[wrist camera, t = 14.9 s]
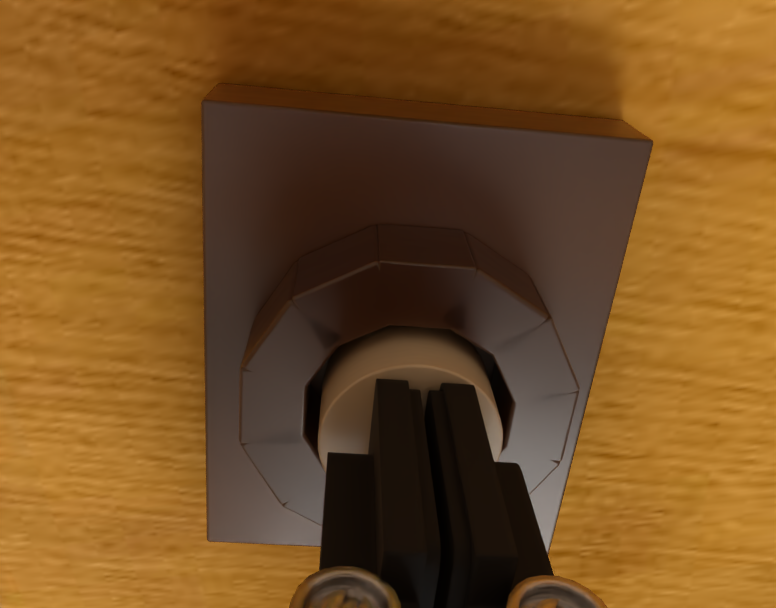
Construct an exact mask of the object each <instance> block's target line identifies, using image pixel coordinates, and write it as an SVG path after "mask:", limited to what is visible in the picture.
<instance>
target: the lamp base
mask: <svg viewBox="0 0 776 608" xmlns="http://www.w3.org/2000/svg"><path fill="white" fill-rule="evenodd" d="M201 131H202V206H203V281H204V356H205V431H206V506H207V540H208V541H210V542H231V543H252V544H273V545H294V546H315V547H321V536H322V521H323V507H324V493H325V480H326V472H325V470H324V469H323V466H322V464H321V461H320V457H319V452H318V429H319V417H320V405H321V394H322V384H323V377H324V374H325V370H326V367H327V365H328V363H329V361H330V359H331V357H332V356H333V354H334V353H335V351H336V350H337V349H338V348H339V347H340V346H341V345H343V344H345V343H348V342H350V341H352V340H355V339H357V338H360V337H362V336H364V335H367V334H369V333H372V332H374V331H376V330H379V329H381V328H383V327H386V326H388V325H395V326H410V327H424V328H438V329H450V330H452V331H454V332H455V333H457V334H458V335H460V336H462V337H463V338H465V339H466V340H468V341H469V342H470V343H471V344H472V345H473V346H474V348H475V349H476V350H477V351H478V353H479V355H480V357H481V358H482V360H483V363H484V365H485V368H486V371H487V374H488V378H489V381H490V385H491V388H492V391H493V395H494V398H495V402H496V405H497V408H498V412H499V415H500V419H501V423H502V428H503V444H502V450H501V454H500V457H499V460H498V462H510V463H517V464H518V465H519V466H520V468H521V470H522V473H523V476H524V480H525V483H526V486H527V489H528V493H529V496H530V499H531V503H532V506H533V509H534V512H535V516H536V519H537V522H538V525H539V529H540V532H541V535H542V539H543V542H544V545H545V548H546V552H547V555H548V554H549V550H550V546H551V542H552V538H553V534H554V530H555V526H556V522H557V518H558V514H559V510H560V507H561V503H562V499H563V495H564V491H565V487H566V483H567V479H568V475H569V471H570V467H571V463H572V460H573V456H574V452H575V448H576V444H577V440H578V436H579V432H580V428H581V424H582V420H583V416H584V413H585V409H586V405H587V401H588V397H589V393H590V389H591V385H592V381H593V377H594V373H595V370H596V366H597V362H598V358H599V354H600V350H601V346H602V342H603V338H604V334H605V330H606V326H607V323H608V319H609V315H610V311H611V307H612V303H613V299H614V295H615V291H616V287H617V283H618V279H619V276H620V272H621V268H622V264H623V260H624V256H625V252H626V248H627V244H628V240H629V236H630V232H631V229H632V225H633V221H634V217H635V213H636V209H637V205H638V201H639V197H640V193H641V189H642V186H643V182H644V178H645V174H646V170H647V166H648V162H649V158H650V154H651V150H652V146H653V141H652V140H651V139H650V138H648V137H647V136H645V135H644V134H642V133H641V132H639V131H638V130H636V129H635V128H633V127H632V126H631V125H629V124H628V123H626V122H625V121H623V120H614V119H603V118H592V117H582V116H571V115H560V114H549V113H538V112H527V111H517V110H506V109H495V108H484V107H473V106H462V105H452V104H441V103H430V102H419V101H408V100H397V99H387V98H376V97H365V96H354V95H343V94H332V93H322V92H311V91H300V90H289V89H278V88H268V87H257V86H246V85H235V84H224V83H220V84H217V85H216V87H215V88H214V89H213V90H212V91H211V92H210V93H209V94H208V95H207V96H206V97H205V98H204V99H203V100H202V102H201Z"/></svg>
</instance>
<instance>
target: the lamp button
mask: <svg viewBox="0 0 776 608" xmlns="http://www.w3.org/2000/svg"><path fill="white" fill-rule="evenodd" d="M377 378H378V379H393V380H408V382H409V389H418V390H420V392H421V399H422V406H423V414H424V417H425V410H426V403H427V396H428V392H429V390H434V391H439V389H440V386H441V383H455V384H470V385H474V387H475V389H476V393H477V397H478V401H479V405H480V409H481V413H482V417H483V420H484V424H485V428H486V432H487V436H488V440H489V444H490V448H491V452H492V455H493V459H494V462H498V460H499V457H500V454H501V450H502V444H503V428H502V423H501V419H500V415H499V412H498V408H497V405H496V402H495V398H494V395H493V391H492V388H491V385H490V381H489V378H488V374H487V371H486V368H485V365H484V363H483V360H482V358H481V357H480V355H479V353H478V351H477V350H476V349H475V348H474V346H473V345H472V344H471V343H470V342H469V341H468V340H466V339H465V338H463V337H462V336H460V335H458V334H457V333H455V332H454V331H452V330H450V329H438V328H424V327H410V326H395V325H388V326H386V327H383V328H381V329H379V330H376V331H374V332H372V333H369V334H367V335H364V336H362V337H360V338H357V339H355V340H352V341H350V342H348V343H345V344H343V345H341V346H340V347H339V348H338V349H337V350H336V351H335V353H334V354H333V356H332V357H331V359H330V361H329V363H328V365H327V367H326V370H325V374H324V377H323V384H322V394H321V405H320V417H319V429H318V452H319V457H320V461H321V464H322V466H323V469H324V470H325V472H326V467H327V454H328V452H336V453H353V454H368V449H369V439H370V430H371V420H372V411H373V401H374V392H375V383H376V379H377Z"/></svg>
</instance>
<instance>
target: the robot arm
mask: <svg viewBox="0 0 776 608" xmlns="http://www.w3.org/2000/svg"><path fill="white" fill-rule="evenodd" d="M289 608H607V606H606V605H605V604H604V602H603V601H602V600H601V599H600V598H599V597H598V596H597V595H595V594H594V593H593V592H592V591H591V590H589V589H588V588H586V587H584V586H582V585H581V584H579V583H577V582H575V581H573V580H569V579H566V578H562V577H559V576H554V575H553V571H552V568H551V565H550V561H549V558H548V555H547V552H546V548H545V545H544V542H543V539H542V535H541V532H540V529H539V525H538V522H537V519H536V516H535V512H534V509H533V506H532V503H531V499H530V496H529V493H528V489H527V486H526V483H525V480H524V476H523V473H522V470H521V468H520V466H519V465H518V464H517V463H510V462H494V459H493V455H492V452H491V448H490V444H489V440H488V436H487V432H486V428H485V424H484V420H483V417H482V413H481V409H480V405H479V401H478V397H477V393H476V389H475V387H474V385H470V384H455V383H441V386H440V389H439V391H434V390H429V392H428V396H427V403H426V410H425V417H424V414H423V406H422V399H421V392H420V390H418V389H409V382H408V380H393V379H378V378H377V379H376V383H375V392H374V401H373V411H372V420H371V430H370V439H369V449H368V454H353V453H336V452H328V454H327V467H326V480H325V493H324V507H323V521H322V536H321V551H320V566H319V571H318V572H316V573H314V574H312V575H310V576H308V577H307V578H306V579H305V580H304V581H303V582H302V583H301V584H300V585H299V586H298V588H297V589H296V591H295V593H294V595H293V597H292V600H291V603H290V606H289Z"/></svg>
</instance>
